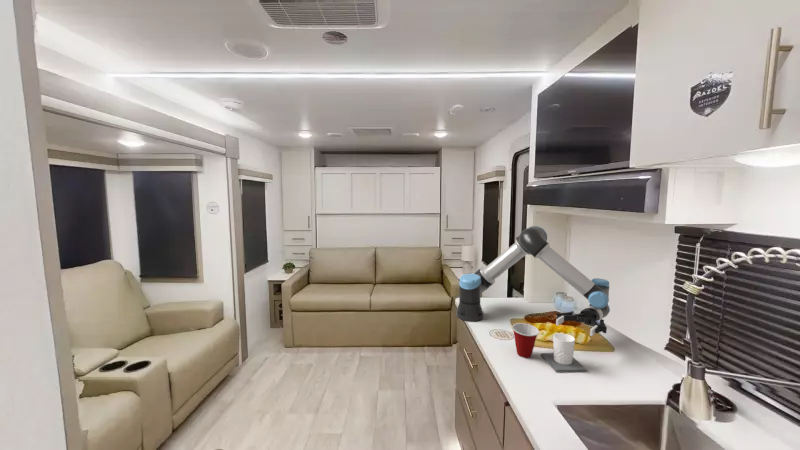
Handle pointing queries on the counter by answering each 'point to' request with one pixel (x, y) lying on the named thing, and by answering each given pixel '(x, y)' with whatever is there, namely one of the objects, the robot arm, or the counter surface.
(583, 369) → the charcoal mat
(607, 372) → the counter surface
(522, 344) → the plastic cup
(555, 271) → the robot arm
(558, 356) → the white cup
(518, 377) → the counter surface
